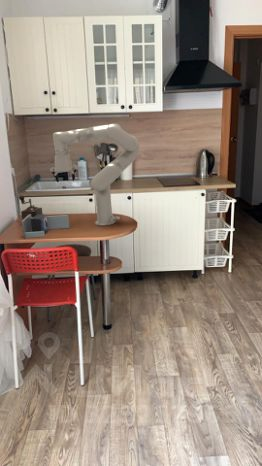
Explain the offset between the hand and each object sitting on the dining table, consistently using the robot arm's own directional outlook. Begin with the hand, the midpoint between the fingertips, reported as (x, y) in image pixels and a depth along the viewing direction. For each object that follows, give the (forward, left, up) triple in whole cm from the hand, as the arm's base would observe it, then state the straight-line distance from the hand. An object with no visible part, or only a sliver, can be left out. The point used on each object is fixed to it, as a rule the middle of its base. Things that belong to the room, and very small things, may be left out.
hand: (65, 181), depth 234 cm
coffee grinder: (+29, -12, -28) cm, 43 cm away
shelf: (+12, +15, -28) cm, 34 cm away
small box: (+16, +15, -28) cm, 36 cm away
